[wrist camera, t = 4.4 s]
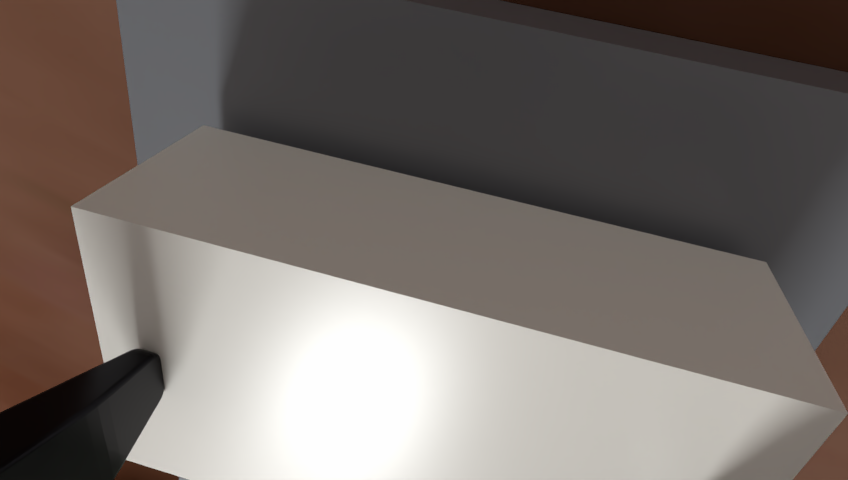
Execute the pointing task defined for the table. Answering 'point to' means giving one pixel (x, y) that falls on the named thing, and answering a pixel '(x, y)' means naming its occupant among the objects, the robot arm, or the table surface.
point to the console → (523, 116)
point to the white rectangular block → (433, 330)
